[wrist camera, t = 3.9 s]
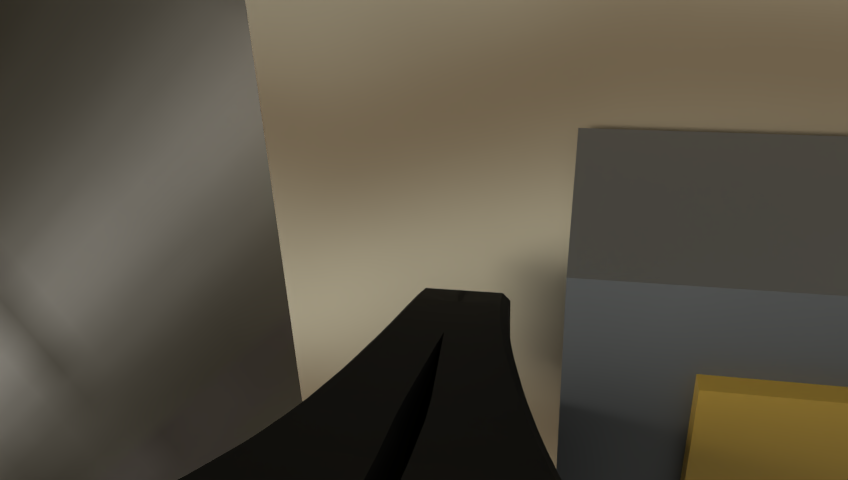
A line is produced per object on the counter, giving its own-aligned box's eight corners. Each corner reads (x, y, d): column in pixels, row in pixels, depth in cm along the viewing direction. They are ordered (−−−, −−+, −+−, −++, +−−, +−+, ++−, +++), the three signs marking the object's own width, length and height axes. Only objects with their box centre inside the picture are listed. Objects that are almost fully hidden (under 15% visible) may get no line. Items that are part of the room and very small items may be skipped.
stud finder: (873, 488, 13) (979, 759, 9) (560, 455, 14) (544, 688, 10) (982, 140, 10) (1194, 335, 6) (578, 128, 11) (564, 291, 7)
